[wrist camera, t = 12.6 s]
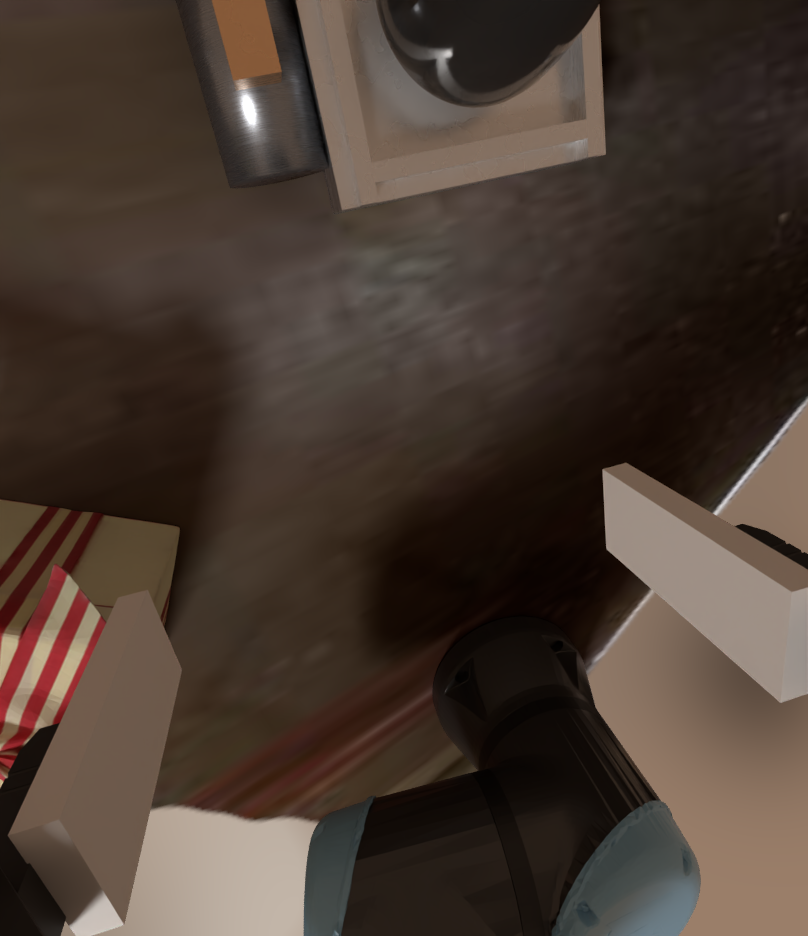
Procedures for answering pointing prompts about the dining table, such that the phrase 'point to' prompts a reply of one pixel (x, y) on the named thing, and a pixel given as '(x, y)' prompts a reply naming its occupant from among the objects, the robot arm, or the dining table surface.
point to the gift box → (65, 603)
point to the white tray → (372, 105)
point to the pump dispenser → (481, 43)
